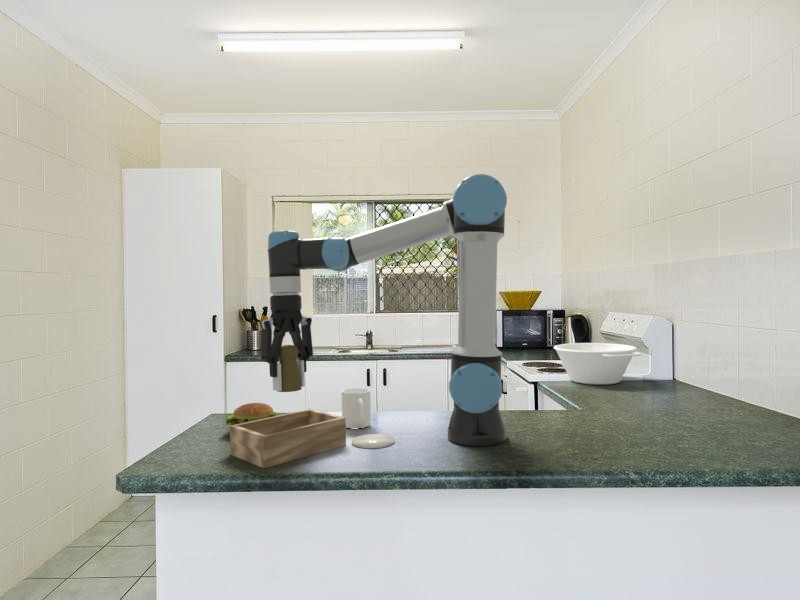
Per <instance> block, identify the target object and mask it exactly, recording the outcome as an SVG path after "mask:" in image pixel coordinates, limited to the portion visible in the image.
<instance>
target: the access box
mask: <svg viewBox="0 0 800 600" xmlns="http://www.w3.org/2000/svg"><path fill="white" fill-rule="evenodd" d="M346 432H347V431H346V422H345V417H342V415H341V416H340V415H336V414H331V413H328V412H323V411H320V410H317V409H316V410H315V409H311V408H308V409H303V410H297V411H294V412H292V411H291V412H288V413H283V414H278V416H273V417H269V418H264V419H259V420H255V421H250V422H245V423H240V424H236V425H229V446H230V447H229V449H230V451H229V453H230V454H229V455H231V456H233V457H236V458H239V459H240V460H243V461H245V462H248V463H250V464H252V465H256V466H257V467H260V468H262V469H264V468H265V469H267V468H271V467H274V466H278V465H282V464H285V463H289V462H292V461H295V460H299V459H303V458H306V457H310V456H313V455H315V454H320V453H324V452H326V451H329V450H333V449H337V448H338V449H339V448H341V447H344V446H347V433H346Z"/></svg>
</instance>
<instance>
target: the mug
mask: <svg viewBox="0 0 800 600" xmlns="http://www.w3.org/2000/svg"><path fill="white" fill-rule="evenodd" d="M371 403H372V402H371V389H369V388H366V387H365V388H364V387H353V388H352V387H350V388H344V389H342V390H341V417H345V422H346V428H363V427H367V426H369V425H370V426H371V424H372V407H371V406H372V405H371ZM370 426H369V427H370Z"/></svg>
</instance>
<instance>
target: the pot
mask: <svg viewBox="0 0 800 600" xmlns="http://www.w3.org/2000/svg"><path fill="white" fill-rule="evenodd" d="M553 349H554V350H555V351H556V353H557V355H558V357H559V360H560V361H561V363H562V365H563V367H564V369H565V371H566V374H567V375H568V378H569V380H571V381H572V382H573V383H577V384H581V385H589V386H590V385H591V386H609V385H614V384H619V383H620V382H621V381H622V378H623V377H624V375H625V372H626V370H627V368H628V366H629V364H630V362H631V361H632V358H633V357H638V356H640V357H641V356H642V353H641V352H636V351H638V348H637V347H636V346H635V345H634V346H633V345H630V344H629V345H628V344H623V343H622V344H621V343H609V342H608V343H607V342H571V343H561V344H557V345H554V346H553Z"/></svg>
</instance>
